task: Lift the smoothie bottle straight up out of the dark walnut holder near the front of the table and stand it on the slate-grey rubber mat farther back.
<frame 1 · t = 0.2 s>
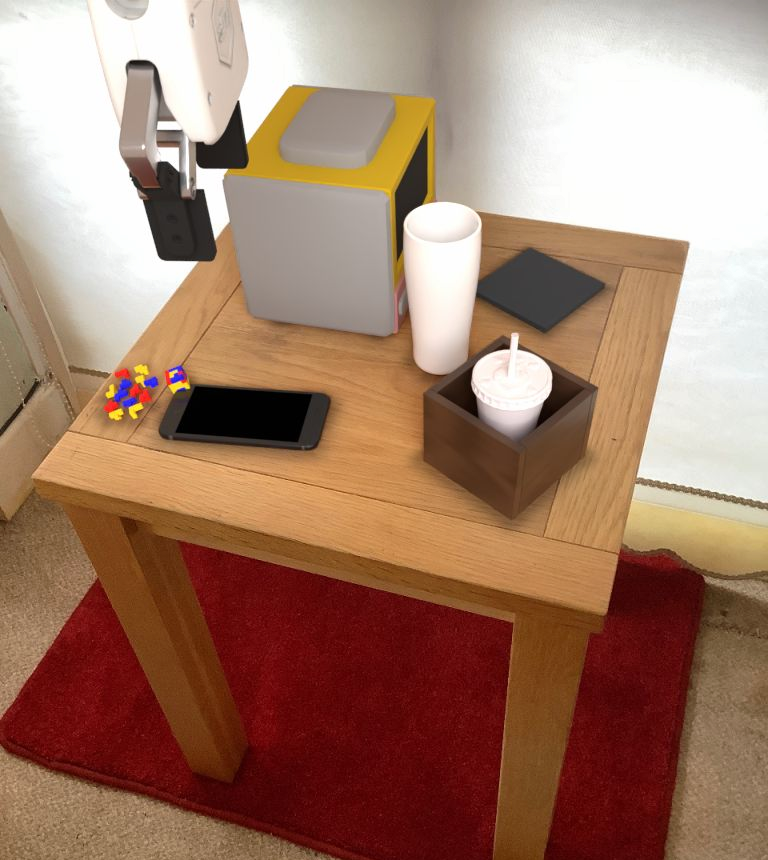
hand: (207, 209, 51), 29 cm above the table, tool pointing down, fingers open, 9 cm apart
holder: (504, 458, 76), on the table
smoothie: (503, 459, 76), resting in holder
smartphone: (246, 420, 80), on the table
alarm clock: (349, 290, 93), on the table
mat: (536, 290, 91), on the table
building blocks: (141, 382, 82), point 2 cm above the table
drinking glass: (440, 361, 85), on the table
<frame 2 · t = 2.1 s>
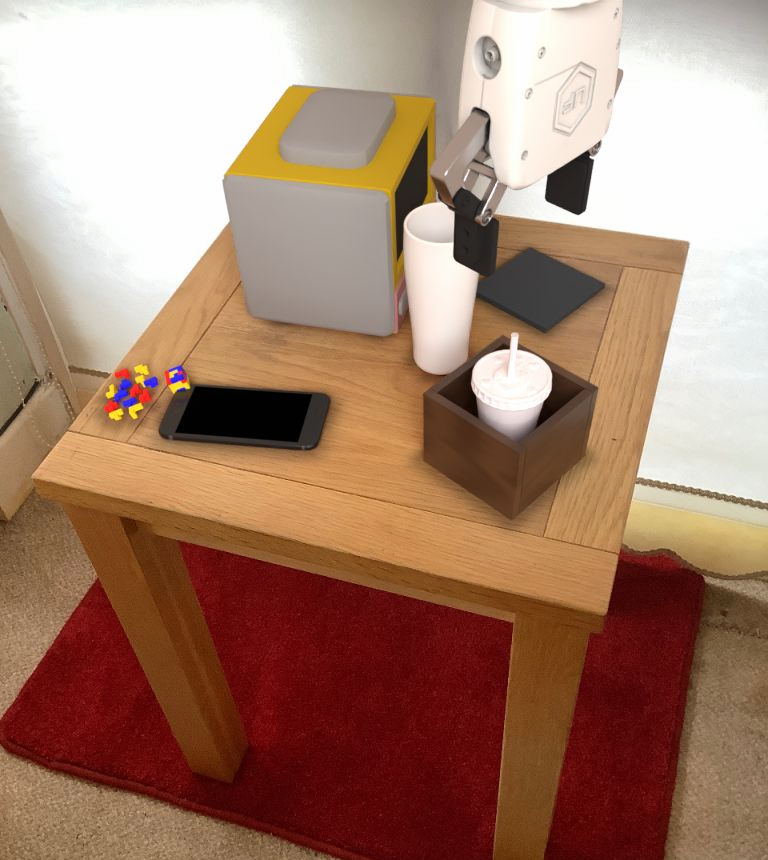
hand: (520, 236, 59), 22 cm above the table, tool pointing down, fingers open, 9 cm apart
nothing on the table moved.
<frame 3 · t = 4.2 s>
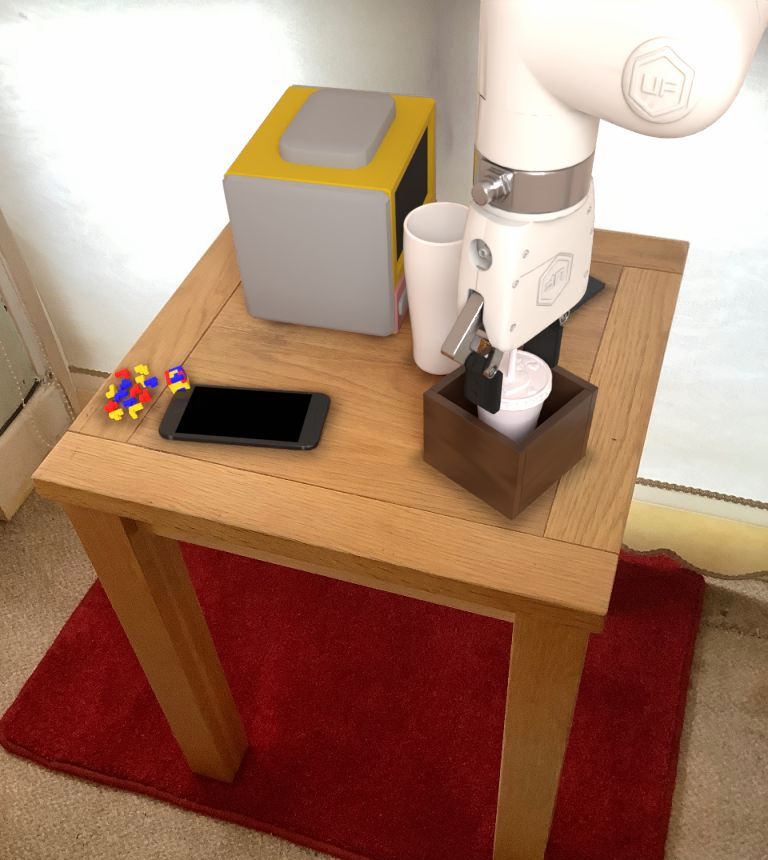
hand: (511, 380, 69), 9 cm above the table, tool pointing down, fingers closed on smoothie, 6 cm apart
smoothie: (503, 459, 76), resting in holder, touching gripper
everything else where it was.
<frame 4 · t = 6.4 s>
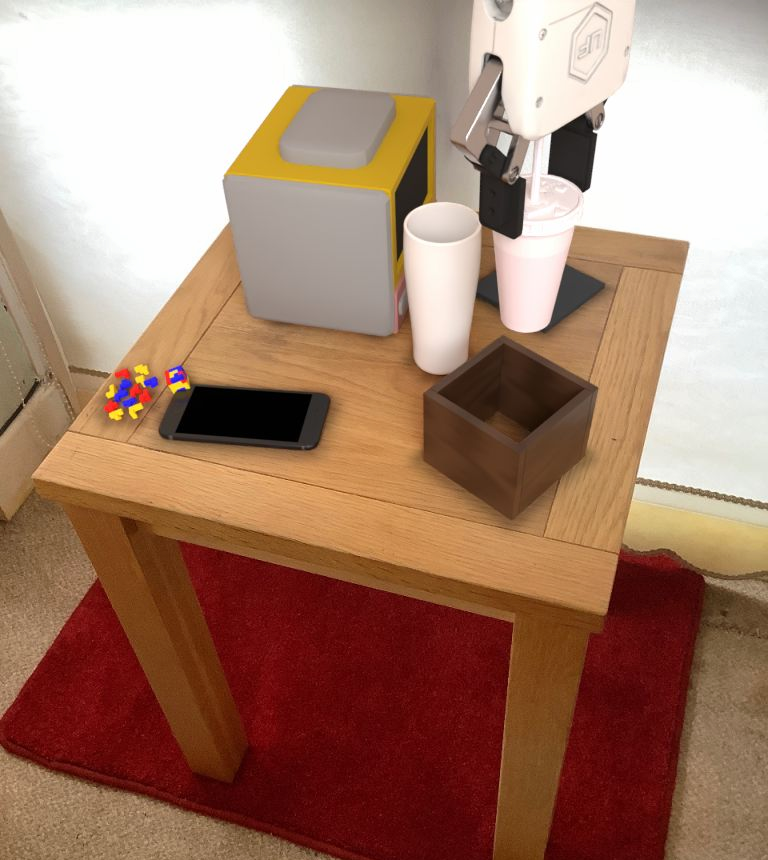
hand: (535, 205, 58), 24 cm above the table, tool pointing down, fingers closed on smoothie, 6 cm apart
smoothie: (525, 319, 65), point 15 cm above the table, touching gripper
everything else where it was.
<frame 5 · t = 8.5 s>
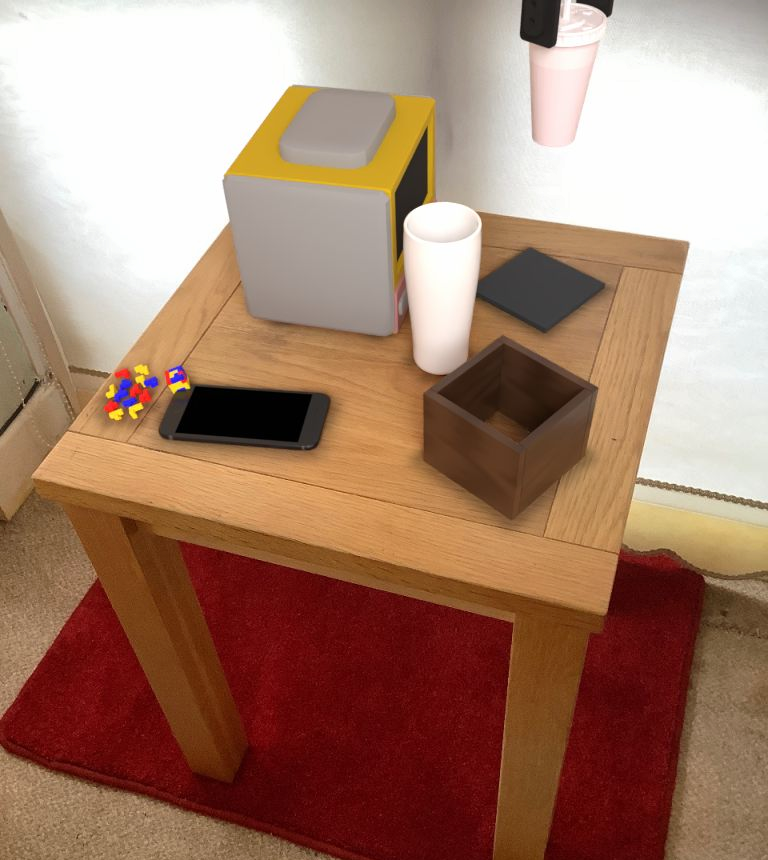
hand: (566, 25, 69), 27 cm above the table, tool pointing down, fingers closed on smoothie, 6 cm apart
smoothie: (553, 139, 76), point 18 cm above the table, touching gripper
everything else where it was.
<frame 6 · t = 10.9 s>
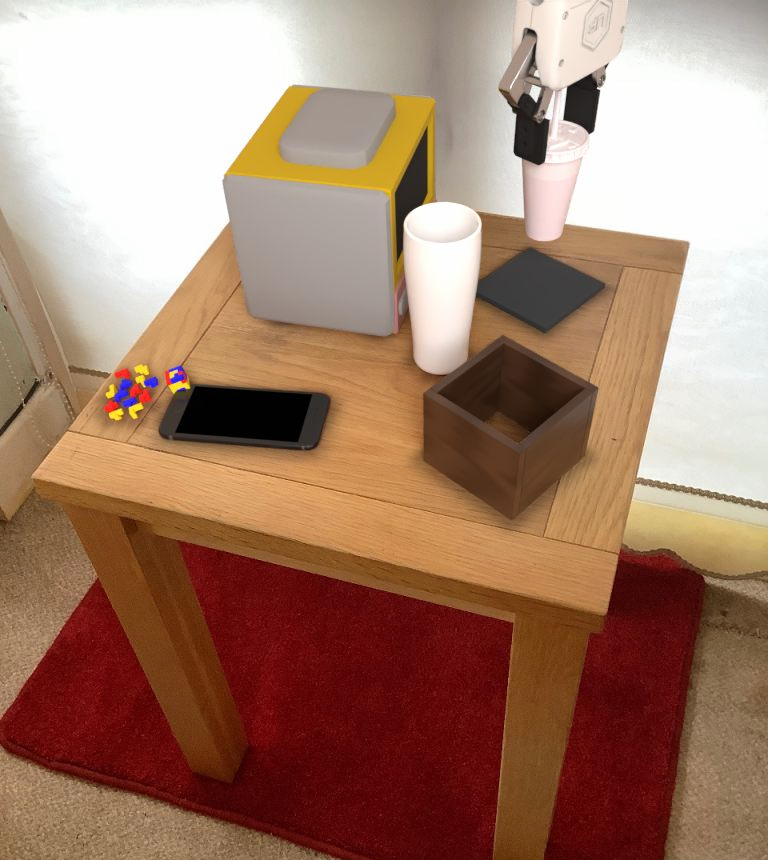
hand: (554, 142, 79), 16 cm above the table, tool pointing down, fingers closed on smoothie, 6 cm apart
smoothie: (543, 232, 86), point 7 cm above the table, touching gripper
everything else where it was.
when the fingers open (10 cm above the table, at t = 12.9 s): smoothie stays where it is, resting on mat.
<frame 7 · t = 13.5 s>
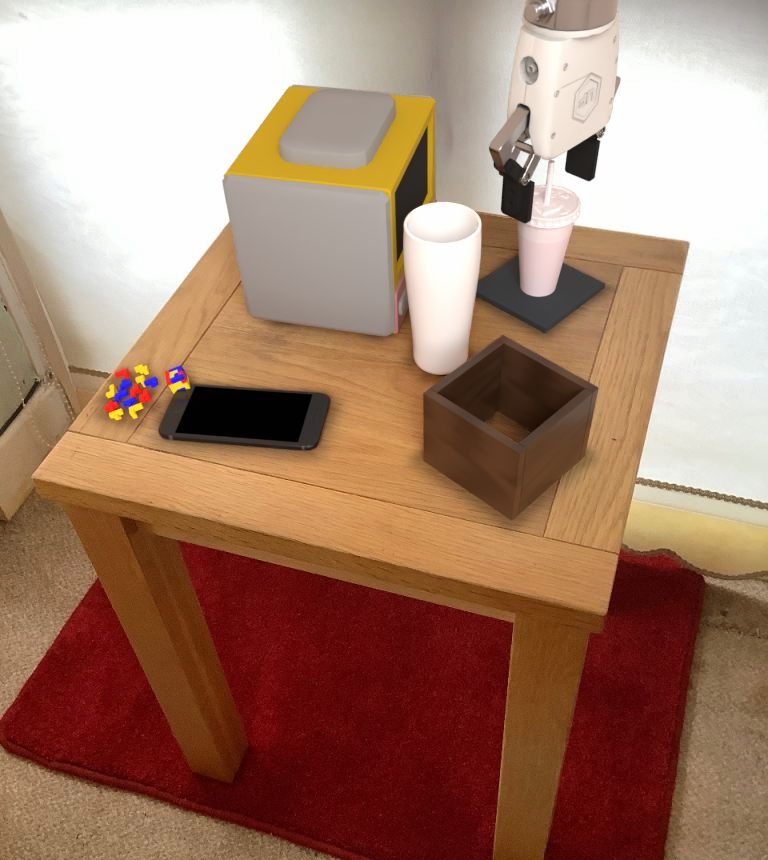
hand: (548, 196, 83), 11 cm above the table, tool pointing down, fingers open, 9 cm apart
smoothie: (537, 287, 91), resting on mat
everything else where it was.
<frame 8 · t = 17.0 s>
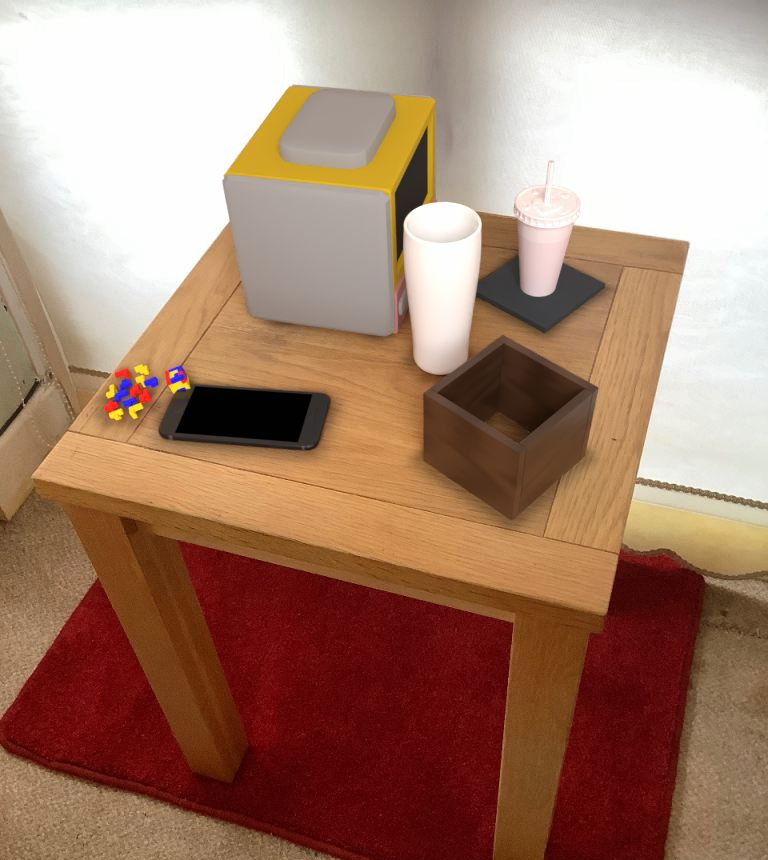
nothing on the table moved.
at the end: smoothie inside the target area on the mat (0.1 cm from its centre), point 0.4 cm above the mat's base; smoothie tilted 0°; smoothie moved 24.7 cm from its start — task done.
